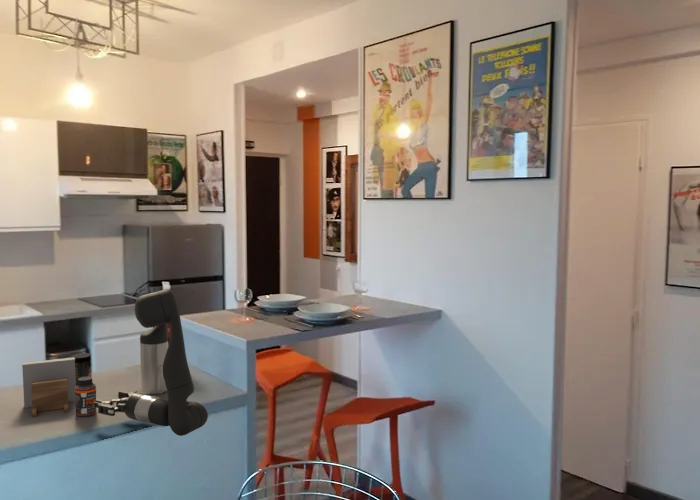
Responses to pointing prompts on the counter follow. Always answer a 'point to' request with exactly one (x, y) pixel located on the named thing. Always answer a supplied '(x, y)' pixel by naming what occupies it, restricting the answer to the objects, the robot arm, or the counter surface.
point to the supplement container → (82, 365)
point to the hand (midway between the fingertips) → (107, 398)
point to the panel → (48, 376)
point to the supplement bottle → (85, 397)
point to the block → (49, 395)
